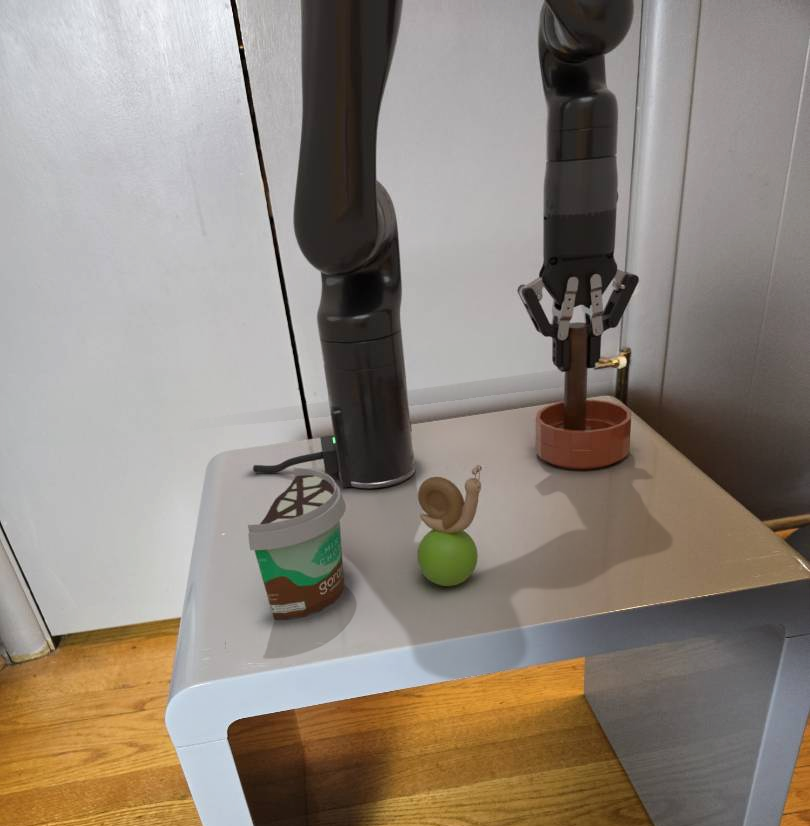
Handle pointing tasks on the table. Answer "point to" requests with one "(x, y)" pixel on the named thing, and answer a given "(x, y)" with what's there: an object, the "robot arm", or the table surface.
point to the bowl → (584, 436)
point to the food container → (301, 546)
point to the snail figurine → (448, 530)
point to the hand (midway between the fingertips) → (575, 367)
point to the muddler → (576, 378)
